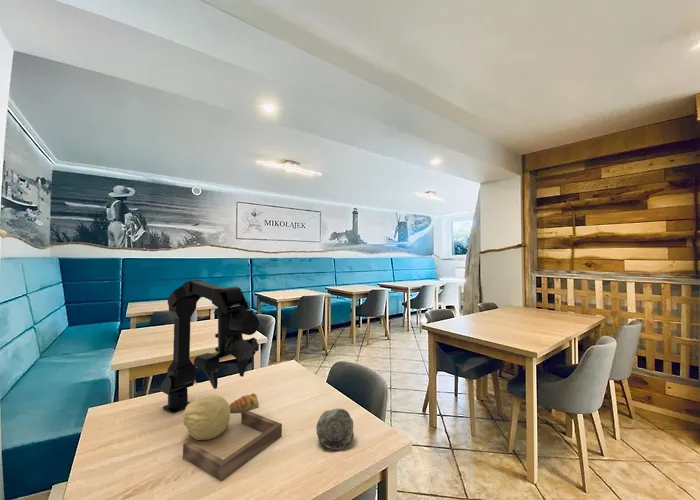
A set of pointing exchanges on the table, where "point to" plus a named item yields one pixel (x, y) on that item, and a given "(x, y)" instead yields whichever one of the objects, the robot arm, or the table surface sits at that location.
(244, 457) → the frame
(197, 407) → the sculpture
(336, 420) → the fossil
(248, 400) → the pastry
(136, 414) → the table surface
